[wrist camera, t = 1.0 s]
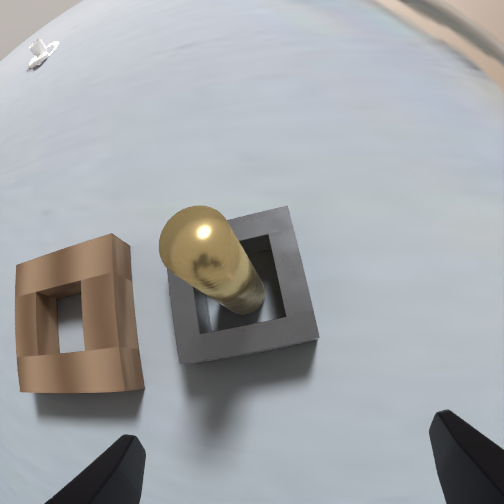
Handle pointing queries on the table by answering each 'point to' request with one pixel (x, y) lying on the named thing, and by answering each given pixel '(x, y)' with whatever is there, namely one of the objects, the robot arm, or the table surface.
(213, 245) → the brass cylinder
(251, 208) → the table surface
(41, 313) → the wooden square frame
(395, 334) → the table surface
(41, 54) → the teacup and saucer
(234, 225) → the socket block
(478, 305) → the table surface
